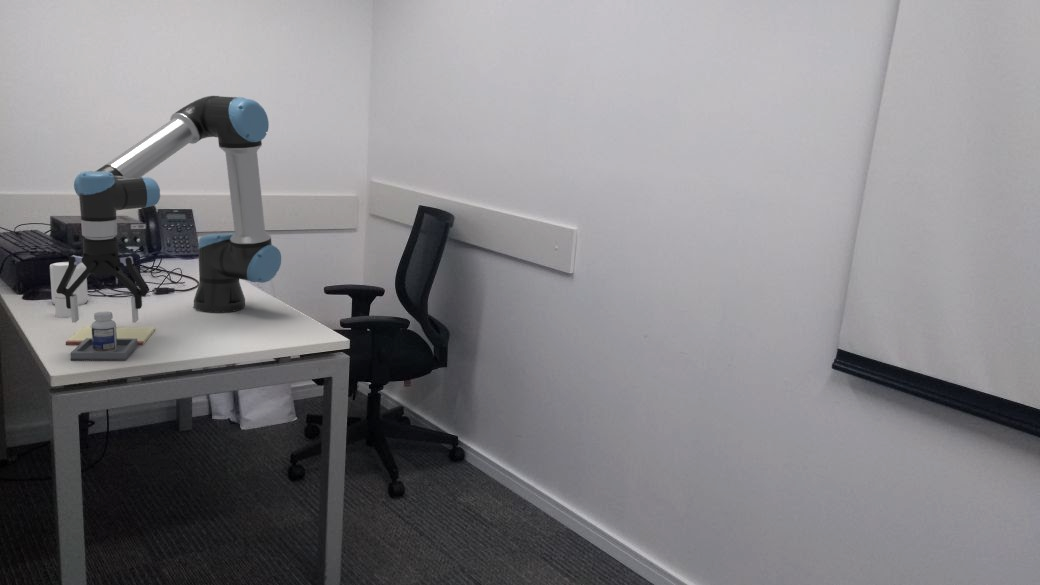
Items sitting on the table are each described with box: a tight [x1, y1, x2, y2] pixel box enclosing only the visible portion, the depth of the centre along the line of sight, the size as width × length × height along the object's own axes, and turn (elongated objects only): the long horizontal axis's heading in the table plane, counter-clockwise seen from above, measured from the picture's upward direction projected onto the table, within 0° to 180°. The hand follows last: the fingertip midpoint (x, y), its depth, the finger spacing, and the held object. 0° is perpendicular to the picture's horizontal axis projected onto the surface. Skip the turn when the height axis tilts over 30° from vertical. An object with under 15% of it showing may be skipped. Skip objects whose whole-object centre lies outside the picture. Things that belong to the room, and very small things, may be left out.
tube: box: [52, 262, 72, 318], centre depth 220 cm, size 4×4×15 cm
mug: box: [49, 261, 89, 306], centre depth 235 cm, size 10×12×12 cm
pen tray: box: [70, 338, 139, 362], centre depth 193 cm, size 12×12×2 cm
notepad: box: [65, 326, 156, 346], centre depth 206 cm, size 18×14×1 cm
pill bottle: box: [91, 310, 117, 352], centre depth 192 cm, size 5×5×10 cm
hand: (105, 321), depth 192 cm, fingers open, 13 cm apart
